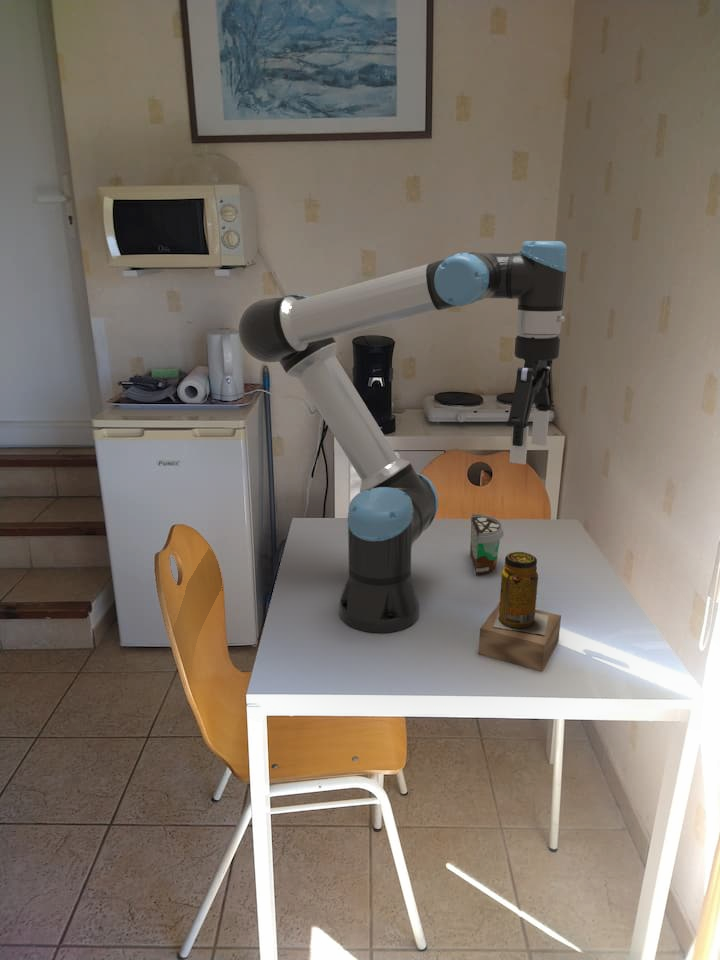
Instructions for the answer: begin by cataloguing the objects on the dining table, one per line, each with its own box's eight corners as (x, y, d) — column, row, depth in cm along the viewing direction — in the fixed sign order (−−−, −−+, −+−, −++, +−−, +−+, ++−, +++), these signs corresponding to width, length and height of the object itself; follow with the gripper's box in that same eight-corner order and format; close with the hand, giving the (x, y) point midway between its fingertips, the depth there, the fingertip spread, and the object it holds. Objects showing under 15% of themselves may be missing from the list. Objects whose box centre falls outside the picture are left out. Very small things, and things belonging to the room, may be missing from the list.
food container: (505, 578, 150) (508, 534, 147) (476, 578, 150) (479, 534, 147) (496, 554, 162) (499, 513, 159) (469, 554, 162) (471, 513, 159)
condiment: (500, 608, 128) (504, 546, 124) (548, 616, 125) (554, 553, 121) (493, 627, 121) (497, 563, 117) (544, 636, 118) (550, 571, 115)
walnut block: (478, 653, 123) (480, 628, 121) (498, 625, 132) (500, 601, 130) (542, 671, 118) (544, 644, 116) (558, 640, 127) (561, 615, 125)
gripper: (539, 345, 111) (529, 474, 118) (576, 329, 132) (565, 440, 138) (493, 341, 114) (486, 468, 121) (536, 326, 135) (527, 435, 142)
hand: (528, 453), depth 130 cm, fingers open, 13 cm apart
